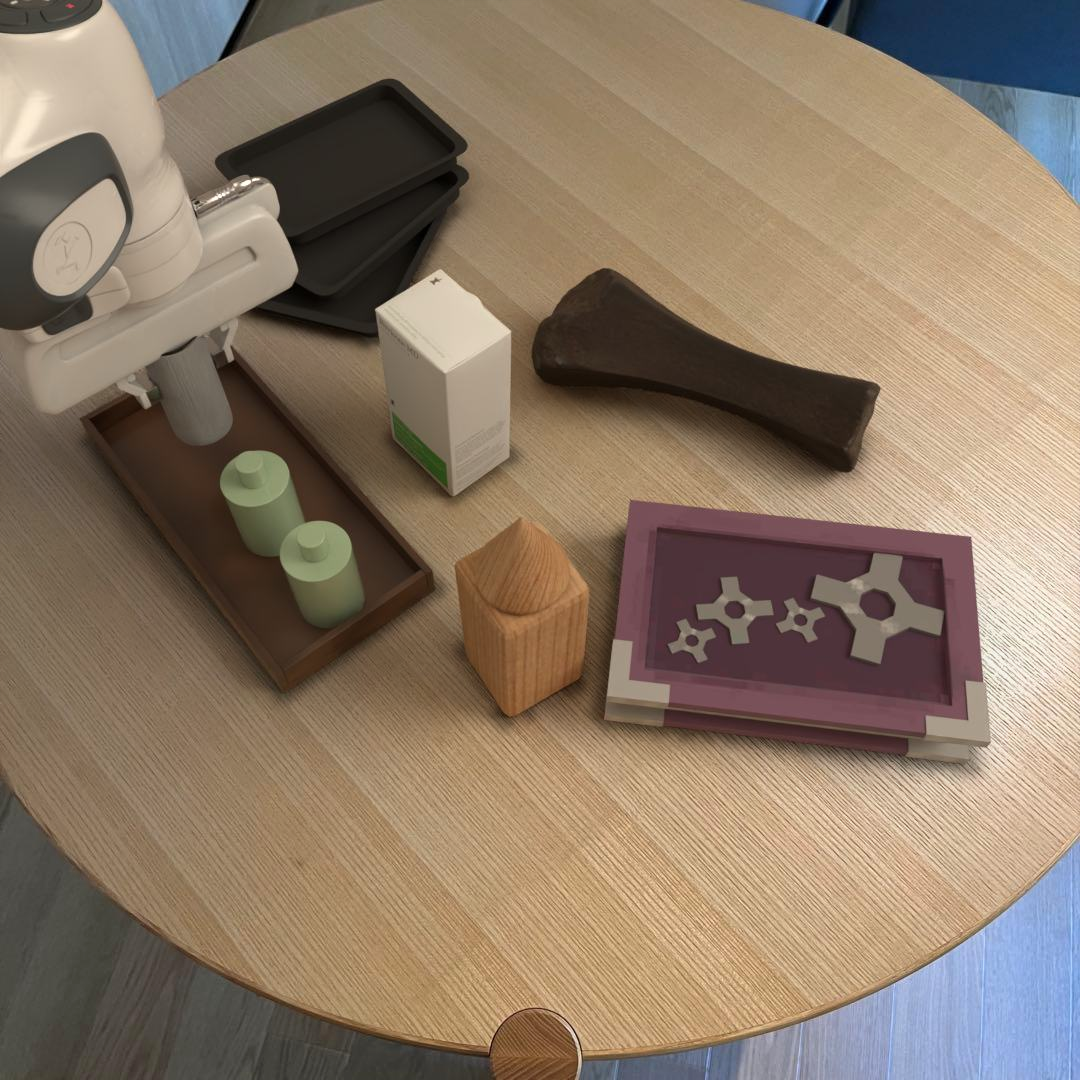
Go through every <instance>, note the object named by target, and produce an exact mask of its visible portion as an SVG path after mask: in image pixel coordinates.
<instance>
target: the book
mask: <svg viewBox="0 0 1080 1080" xmlns="http://www.w3.org/2000/svg"><path fill="white" fill-rule="evenodd" d="M627 513H628V514H627V521H626V530H625V536H624V537H625V538H624V547H623V556H622V564H621V575H620V584H619V585H620V586H619V593H618V603H617V611H616V612H617V613H616V623H615V629H614V630H615V632H614V638H613V639H612V646H611V654H610V655H611V656H610V662H609V669H608V680H607V690H606V699H605V706H604V707H605V708H604V717H603V718H604V719H603V720H604V721H610V722H619V723H627V724H636V725H643V726H651V727H658V728H659V727H660V728H663V727H672V728H679V729H688V730H689V729H690V730H696V731H704V732H705V731H706V732H713V733H721V734H730V735H737V736H745V737H752V738H760V739H761V738H762V739H769V740H778V741H787V742H795V743H801V744H803V743H804V744H810V745H820V746H827V747H828V746H829V747H835V748H845V749H852V750H860V751H867V752H868V751H869V752H877V753H886V754H893V755H901V756H904V757H905V758H913V759H921V760H929V761H937V762H944V763H954V764H960V765H966V764H967V763H968V762H969V761H970V760H971V756H970V755H971V754H970V747H978V748H985V749H986V748H987V747H989V746H990V744H991V743H992V737H991V727H990V715H989V704H988V702H989V701H988V691H987V682H984V672H983V660H982V658H983V657H982V648H981V637H980V625H979V624H980V623H979V613H978V611H979V610H978V601H977V589H976V577H975V564H974V554H973V553H974V552H973V540H972V536H970V535H969V536H968V535H959V534H950V533H942V532H941V533H940V532H931V531H921V530H913V529H904V528H894V527H886V526H875V525H867V524H858V523H848V522H839V521H831V520H822V519H811V518H802V517H793V516H785V515H777V514H776V515H774V514H766V513H757V512H748V511H737V510H730V509H729V510H728V509H720V508H711V507H701V506H692V505H682V504H674V503H672V504H671V503H664V502H655V501H645V500H637V499H629V505H628V511H627Z"/></svg>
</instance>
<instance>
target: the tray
mask: <svg viewBox="0 0 1080 1080" xmlns="http://www.w3.org/2000/svg"><path fill="white" fill-rule="evenodd" d="M468 145H469V144H468V142H467V140H466V139H465V137H463V136H462V135H461V134H459V132H457V131H456V130H455V129H454V128H453V127H452V126H450V124H448V123H447V122H446V121H445V120H444V118H442V117H441V116H440V115H438V114H437V113H436V112H435V111H434V110H433V109H432V108H431V107H429V105H427V104H426V103H425V102H424V101H423V100H422V99H420V98H419V97H418V96H417V94H415V93H414V92H413V91H411V90H410V88H409V87H407V86H406V85H405V84H404V83H403V82H401V81H400V80H398V79H395V78H383V79H381V80H378V81H376V82H373V83H371V84H369V85H367V86H365V87H363V88H361V89H358V90H356V91H354V92H351V93H349V94H347V95H344V96H343V97H341V98H338V99H337V100H334V101H332V102H330V103H328V104H325V105H324V106H321V107H319V108H317V109H315V110H312V111H310V112H308V113H306V114H303V115H302V116H299V117H297V118H295V119H293V120H291V121H289V122H286V123H284V124H282V125H279V126H277V127H275V128H273V129H271V130H269V131H267V132H265V133H262V134H260V135H258V136H255V137H254V138H251V139H249V140H246V141H245V142H242V143H241V144H238V145H236V146H234V147H232V148H229V149H227V150H225V151H223V152H222V153H220V154H218V155H217V156H216V158H215V160H214V165H215V168H217V170H218V171H219V173H220V174H222V176H223V177H224V178H225V179H226V180H227V181H228V183H229V182H230V181H231V180H233V179H235V178H237V177H239V176H242V175H248V176H249V177H250V178H252V177H263V178H266V179H268V180H269V181H270V182H271V183H272V184H273V185H274V187H275V190H276V194H277V198H278V202H279V206H280V211H279V216H278V218H277V221H278V223H279V225H280V226H281V228H282V230H283V232H284V234H285V236H286V238H287V240H288V242H289V244H290V247H291V249H292V252H293V255H294V257H295V260H296V263H297V267H298V273H297V276H296V279H295V281H294V283H293V285H292V286H291V287H290V288H289V289H287V290H285V291H283V292H281V293H280V294H278V295H276V296H274V297H272V298H270V299H269V300H267V301H265V302H263V303H261V304H259V305H258V306H256V307H255V308H256V309H257V310H258V311H260V312H262V313H266V314H270V315H275V316H279V317H282V318H287V319H291V320H295V321H299V322H304V323H307V324H312V325H315V326H319V327H324V328H327V329H332V330H337V331H341V332H344V333H348V334H352V335H353V334H354V335H357V336H361V337H366V338H377V337H379V333H378V325H377V318H376V312H375V309H376V308H378V307H379V306H381V305H383V304H384V303H386V302H387V301H389V300H391V299H392V298H394V297H396V296H397V295H399V294H401V293H402V292H404V291H405V290H407V289H409V288H410V285H411V283H412V281H413V279H414V278H415V276H416V273H417V271H418V270H419V268H420V265H421V263H422V262H423V260H424V259H425V256H426V254H427V253H428V250H429V249H430V247H431V245H432V242H433V240H434V238H435V237H436V234H437V233H438V231H439V229H440V227H441V225H442V223H443V221H444V219H445V218H446V215H447V214H448V213H447V212H448V208H449V207H450V206H451V205H453V204H454V203H455V202H456V201H457V200H458V199H459V197H460V189H461V188H462V187H463V186H464V185H465V184H466V183H467V182H468V181H469V178H470V173H469V171H468V170H467V169H466V168H465V167H463V166H462V165H459V164H458V157H459V156H460V155H463V154H464V153H465V152H466V151H467V150H468Z"/></svg>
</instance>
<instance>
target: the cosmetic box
mask: <svg viewBox="0 0 1080 1080" xmlns="http://www.w3.org/2000/svg"><path fill="white" fill-rule="evenodd" d="M375 312H376V318H377V325H378V333H379V336H378V338H379V346H380V353H381V362H382V368H383V376H384V383H385V390H386V398H387V405H388V412H389V413H388V414H389V420H390V426H391V436H392V439H393V440H394V442H395V443H397V445H398V446H400V447H401V448H402V449H403V450H404V451H405V452H406V453H407V454H408V455H409V456H410V458H412V459H413V460H414V461H415V462H416V463H417V464H418V465H419V466H420V467H421V468H422V469H423V470H424V471H425V472H426V473H427V474H429V475H430V477H431V478H433V480H434V481H436V483H438V484H439V486H440V487H442V488H443V489H444V491H445V492H447V494H449V495H450V496H451V497H455V496H457V495H458V494H459V493H461V492H462V491H464V490H466V489H467V488H468V487H470V486H471V485H472V484H474V483H476V482H477V481H478V480H479V479H481V478H482V477H484V476H485V475H486V474H488V473H489V472H491V471H492V470H494V469H495V468H496V467H498V466H499V465H501V464H502V463H503V462H505V461H506V460H508V459H509V458H510V457H511V456H510V455H511V454H510V450H511V448H510V445H511V442H510V441H511V440H510V439H511V437H510V436H511V382H512V381H511V372H512V371H511V369H512V366H511V365H512V364H511V363H512V330H511V329H509V328H508V327H507V326H506V325H505V324H504V323H502V321H500V319H498V318H497V317H496V316H495V315H494V314H493V313H491V312H490V311H489V309H487V308H486V307H485V306H484V305H483V303H482V301H481V300H480V298H478V296H477V295H475V294H474V293H472V292H468V291H466V290H465V289H464V288H463V287H462V286H461V285H460V284H458V282H456V281H455V280H454V279H453V278H451V277H450V276H449V275H448V274H447V273H446V272H444V271H443V270H442V269H440V268H439V269H438V270H435V271H434V272H433V273H431V274H430V275H428V276H426V277H425V278H423V279H421V280H419V281H418V282H417V283H415V284H414V285H412V286H411V287H410V286H409V287H408V289H407V290H405V291H404V292H402V293H401V294H399V295H397V296H396V297H394V298H392V299H391V300H389V301H387V302H386V303H384V304H383V305H381V306H379V307H378V308H376V309H375Z"/></svg>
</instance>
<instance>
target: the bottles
mask: <svg viewBox="0 0 1080 1080" xmlns="http://www.w3.org/2000/svg"><path fill="white" fill-rule="evenodd" d="M220 487H221V491H222V493H223V495H224V498H225V500H226V502H227V505H228V507H229V510H230V512H231V514H232V517H233V519H234V521H235V524H236V526H237V528H238V531H239V533H240V536H241V538H242V540H243V542H244V544H245V546H246V547H247V548H248V549H249V550H250V551H251V552H253V553H255V554H257V555H260V556H265V557H276V556H280V561H281V564H282V567H283V569H284V572H285V575H286V577H287V580H288V583H289V585H290V588H291V591H292V593H293V596H294V598H295V601H296V604H297V606H298V609H299V611H300V614H301V615H302V617H303V618H304V619H305V620H306V621H307V622H308V623H310V624H312V625H314V626H316V627H319V628H325V629H330V628H335V627H337V626H338V625H340V624H341V623H343V622H344V621H346V620H347V619H349V618H350V617H351V616H353V615H354V614H356V613H357V612H359V611H360V610H361V609H362V607H363V604H364V600H365V593H364V588H363V585H362V581H361V577H360V574H359V570H358V566H357V562H356V559H355V555H354V551H353V548H352V544H351V541H350V538H349V536H348V534H347V533H346V532H345V531H344V530H343V529H342V528H341V527H339V526H338V525H336V524H334V523H331V522H327V521H312V522H308V523H306V521H305V518H304V515H303V512H302V509H301V506H300V503H299V500H298V497H297V494H296V490H295V487H294V484H293V481H292V478H291V475H290V472H289V469H288V466H287V464H286V463H285V461H284V460H283V459H282V458H281V457H279V456H278V455H276V454H274V453H271V452H268V451H246V452H243V453H241V454H240V455H239V456H237V457H236V458H234V459H233V460H232V461H230V462H229V463H228V464H227V466H226V467H225V468H224V470H223V472H222V474H221V478H220Z"/></svg>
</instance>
